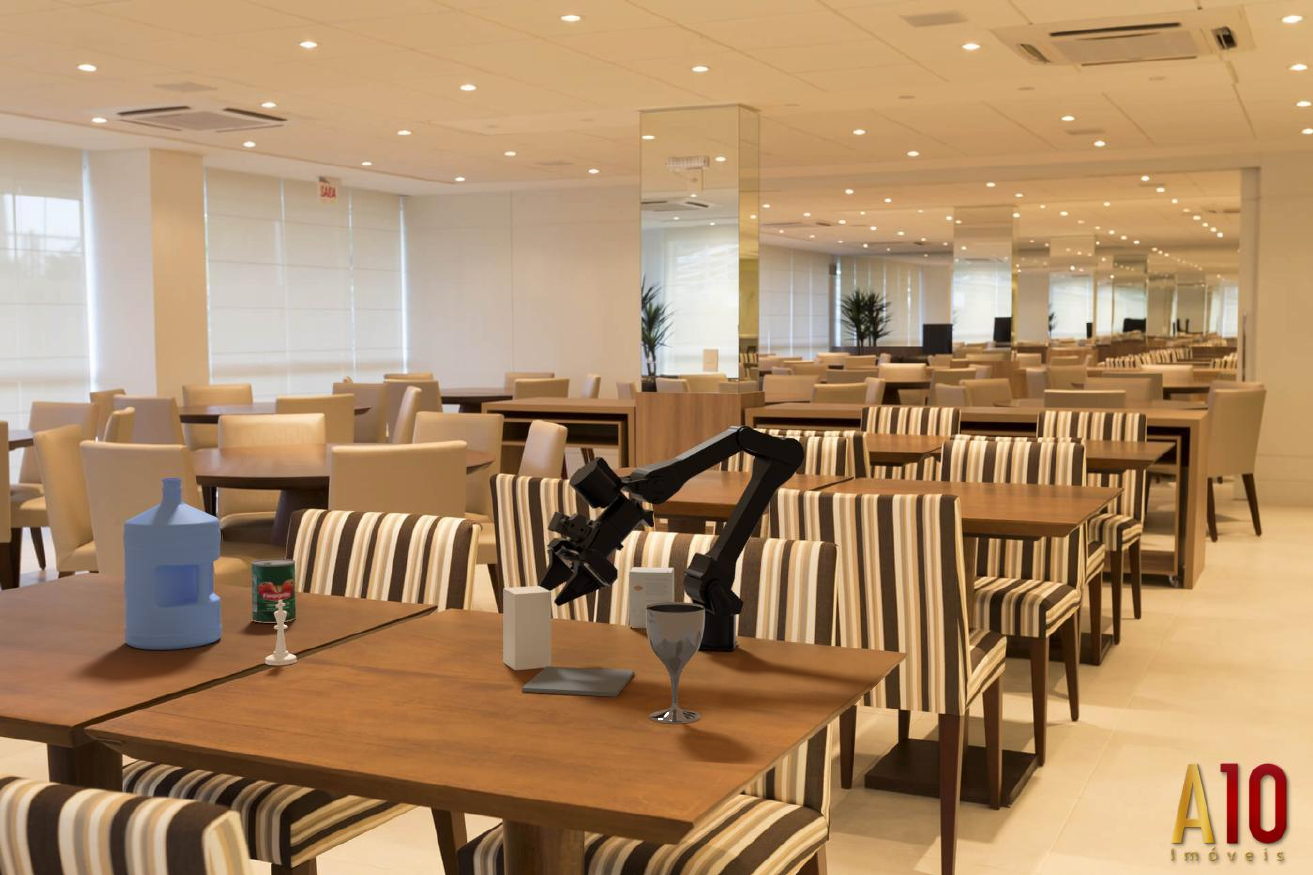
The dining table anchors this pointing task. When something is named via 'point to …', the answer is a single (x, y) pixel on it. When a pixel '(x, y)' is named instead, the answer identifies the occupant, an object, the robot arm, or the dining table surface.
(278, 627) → the chess piece
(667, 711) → the wine glass
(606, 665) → the dining table surface
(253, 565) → the canned tomato
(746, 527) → the robot arm
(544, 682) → the slate mat
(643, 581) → the small box
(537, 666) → the white rectangular block
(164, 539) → the water jug
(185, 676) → the dining table surface
